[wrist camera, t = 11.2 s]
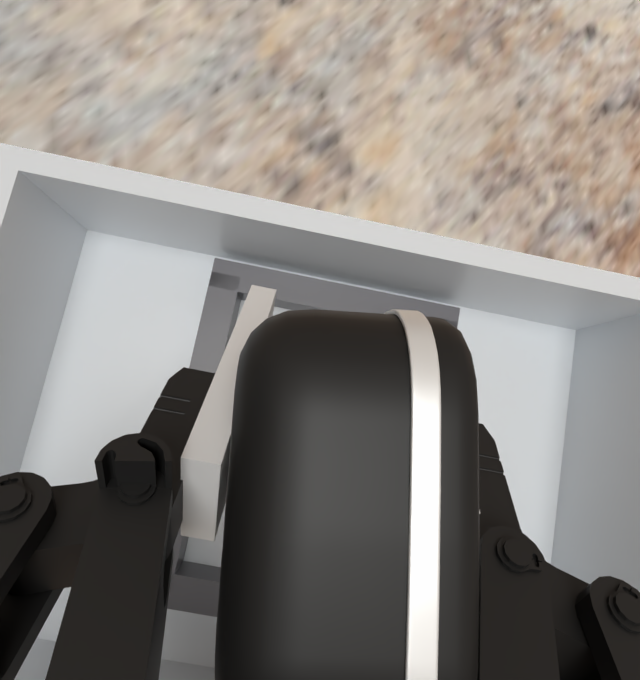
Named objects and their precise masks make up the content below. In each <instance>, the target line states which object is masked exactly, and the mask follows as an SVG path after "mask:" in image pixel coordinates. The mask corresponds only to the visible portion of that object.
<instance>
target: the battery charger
mask: <svg viewBox="0 0 640 680" xmlns="http://www.w3.org/2000/svg"><path fill="white" fill-rule="evenodd" d="M479 552H480V516H479V413H478V396H477V379H476V374H475V369H474V364H473V359H472V354H471V352H470V350H469V348H468V346H467V343H466V341H465V339H464V337H463V335H462V333H461V331H459V330H458V329H457V328H455V327H454V326H453V325H452V324H450V323H449V322H447V321H446V320H444V319H441V318H436V317H426V316H424V314H423V313H421V312H419V311H414V310H399V309H393V310H390V311H387V312H385V313H384V314H380V313H365V312H349V311H334V310H318V309H311V310H289V311H285V312H282V313H280V314H277V315H274V316H272V317H269V318H267V319H265V320H264V321H263V322H262V323H261V324H260V325H259V326H258V327H256V328H255V329H254V330H253V331H252V332H251V333H250V335H249V337H248V339H247V341H246V343H245V345H244V347H243V349H242V351H241V353H240V356H239V362H238V367H237V374H236V382H235V390H234V403H233V416H232V429H231V441H230V456H229V469H228V480H227V493H226V505H225V518H224V531H223V548H222V558H221V571H220V584H219V597H218V610H217V622H216V642H215V680H477V676H478V636H479Z"/></svg>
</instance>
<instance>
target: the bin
mask: <svg viewBox="0 0 640 680" xmlns="http://www.w3.org/2000/svg"><path fill="white" fill-rule="evenodd" d="M252 285H256V286H261V287H266V288H271V289H276V297H275V304H274V311H273V316H274V315H277V314H280V313H282V312H285V311H289V310H311V309H318V310H334V311H349V312H365V313H380V314H384V313H385V312H387V311H390V310H393V309H399V310H414V311H419V312H421V313H423V314H424V316H426V317H436V318H441V319H444V320H446V321H447V322H449V323H450V324H452V325H453V326H454V327H455V328H457V329H458V330H459V331H461V333H462V335H463V337H464V339H465V341H466V343H467V346H468V348H469V350H470V352H471V354H472V359H473V364H474V369H475V374H476V379H477V396H478V413H479V423H481V424H483V425H484V426H485V428H486V429H487V430H488V432H489V433H490V435H491V436H492V437H493V439H494V440H495V443H496V446H497V450H498V453H499V457H500V458H499V461H501V463H502V467H503V470H504V473H503V475H505V477H506V481H507V484H508V487H509V491H510V494H511V498H512V501H513V505H514V508H515V511H516V515H517V518H518V522H519V525H520V528H521V531H522V533H523V534H525V535H526V536H527V537H528V538H529V539H531V540H532V541H533V542H534V543H535V544H536V545H537V547H538V548H539V550H540V551H541V553H542V554H543V556H544V559H545V561H546V562H548V563H550V564H551V565H553V566H555V567H556V568H558V569H560V570H562V571H564V572H566V573H568V574H570V575H572V576H574V577H576V578H578V579H580V580H582V581H584V582H586V583H588V584H591V583H592V582H593V581H594V580H596V579H597V578H598V577H602V576H612V577H615V578H617V579H620V580H623V581H625V582H626V583H628V584H629V585H631V586H632V587H634V588H636V589H637V590H638V591H639V592H640V278H639V277H634V276H629V275H624V274H620V273H615V272H610V271H605V270H601V269H596V268H591V267H586V266H582V265H577V264H572V263H567V262H563V261H558V260H553V259H549V258H544V257H539V256H534V255H530V254H525V253H520V252H515V251H511V250H506V249H501V248H496V247H492V246H487V245H482V244H478V243H473V242H468V241H463V240H459V239H454V238H449V237H444V236H440V235H435V234H430V233H425V232H421V231H416V230H411V229H407V228H402V227H397V226H392V225H388V224H383V223H378V222H373V221H369V220H364V219H359V218H354V217H350V216H345V215H340V214H336V213H331V212H326V211H321V210H317V209H312V208H307V207H302V206H298V205H293V204H288V203H283V202H279V201H274V200H269V199H265V198H260V197H255V196H250V195H246V194H241V193H236V192H231V191H227V190H222V189H217V188H212V187H208V186H203V185H198V184H194V183H189V182H184V181H179V180H175V179H170V178H165V177H160V176H156V175H151V174H146V173H141V172H137V171H132V170H127V169H123V168H118V167H113V166H108V165H104V164H99V163H94V162H89V161H85V160H80V159H75V158H70V157H66V156H61V155H56V154H51V153H47V152H42V151H37V150H33V149H28V148H23V147H18V146H14V145H9V144H4V143H0V476H3V475H7V474H11V473H15V472H32V473H35V474H37V475H40V476H42V477H44V478H45V479H46V481H47V482H48V483H49V484H50V486H59V485H68V484H78V483H85V482H90V481H94V480H97V479H98V478H97V473H96V467H95V462H94V461H95V459H96V457H97V455H98V454H99V452H100V450H101V449H102V448H103V447H104V446H106V445H107V444H108V443H109V442H110V441H112V440H114V439H116V438H119V437H121V436H124V435H127V434H135V433H140V432H141V430H142V428H143V426H144V424H145V422H146V421H147V419H148V417H149V415H150V413H151V411H152V410H153V409H154V405H155V404H156V402H157V400H158V398H159V397H160V394H161V392H162V390H163V389H164V387H165V385H166V383H167V381H168V379H169V378H170V377H172V376H173V375H174V374H176V373H177V372H178V371H179V370H181V369H182V368H183V367H185V368H190V369H196V370H201V371H206V372H211V373H216V371H217V368H218V366H219V363H220V361H221V359H222V356H223V354H224V351H225V349H226V346H227V344H228V342H229V339H230V337H231V334H232V332H233V329H234V327H235V325H236V322H237V320H238V317H239V315H240V312H241V310H242V308H243V305H244V303H245V300H246V298H247V295H248V293H249V291H250V288H251V286H252ZM225 505H226V503H225ZM224 518H225V506H224V510H223V513H222V517H221V520H220V524H219V527H218V531H217V534H216V538H215V541H209V540H204V539H198V538H193V537H187V536H181V526H180V529H179V532H178V534H177V537H176V540H175V543H174V546H173V565H172V573H171V581H170V589H169V598H168V606H167V614H166V623H165V631H164V639H163V647H162V656H161V664H160V672H159V680H215V642H216V622H217V610H218V597H219V584H220V571H221V558H222V548H223V531H224ZM70 590H71V587H68V588H64V589H63V591H62V592H61V594H60V596H59V598H58V600H57V602H56V603H55V605H54V607H53V609H52V611H51V613H50V614H49V616H48V618H47V620H46V622H45V624H44V625H43V627H42V629H41V631H40V633H39V635H38V636H37V638H36V640H35V642H34V644H33V646H32V647H31V649H30V651H29V653H28V655H27V657H26V658H25V660H24V662H23V664H22V666H21V668H20V669H19V671H18V673H17V675H16V677H15V679H14V680H45V679H46V675H47V672H48V668H49V665H50V661H51V658H52V654H53V650H54V647H55V643H56V640H57V636H58V633H59V629H60V626H61V622H62V619H63V615H64V611H65V608H66V604H67V601H68V597H69V594H70Z"/></svg>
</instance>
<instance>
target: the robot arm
mask: <svg viewBox="0 0 640 680" xmlns="http://www.w3.org/2000/svg"><path fill="white" fill-rule="evenodd" d="M275 297H276V289H271V288H266V287H261V286H256V285H252V286H251V288H250V291H249V293H248V295H247V298H246V300H245V303H244V305H243V308H242V310H241V312H240V315H239V317H238V320H237V322H236V325H235V327H234V329H233V332H232V334H231V337H230V339H229V342H228V344H227V346H226V349H225V351H224V354H223V356H222V359H221V361H220V363H219V366H218V368H217V371H216V373H211V372H206V371H201V370H196V369H190V368H185V367H183V368H182V369H181V370H179V371H178V372H177V373H176V374H174V375H173V376H172V377H170V378H169V379H168V381H167V383H166V385H165V387H164V389H163V390H162V392H161V394H160V397H159V398H158V400H157V402H156V404H155V405H154V409H153V410H152V411H151V413H150V415H149V417H148V419H147V421H146V422H145V424H144V426H143V428H142V430H141V432H140V433H135V434H127V435H124V436H121V437H119V438H116V439H114V440H112V441H110V442H109V443H108V444H107V445H106V446H104V447H103V448H102V449H101V450H100V452H99V454H98V455H97V457H96V459H95V461H94V462H95V467H96V473H97V478H98V479H97V480H94V481H90V482H85V483H78V484H68V485H59V486H50V484H49V483H48V482H47V481H46V479H45V478H44V477H42V476H40V475H37V474H35V473H32V472H15V473H11V474H7V475H3V476H0V680H14V679H15V677H16V675H17V673H18V671H19V669H20V668H21V666H22V664H23V662H24V660H25V658H26V657H27V655H28V653H29V651H30V649H31V647H32V646H33V644H34V642H35V640H36V638H37V636H38V635H39V633H40V631H41V629H42V627H43V625H44V624H45V622H46V620H47V618H48V616H49V614H50V613H51V611H52V609H53V607H54V605H55V603H56V602H57V600H58V598H59V596H60V594H61V592H62V591H63V589H64V588H68V587H71V590H70V594H69V597H68V601H67V604H66V608H65V611H64V615H63V619H62V622H61V626H60V629H59V633H58V636H57V640H56V643H55V647H54V650H53V654H52V658H51V661H50V665H49V668H48V672H47V675H46V679H45V680H159V672H160V664H161V656H162V647H163V639H164V631H165V623H166V614H167V606H168V598H169V589H170V581H171V573H172V565H173V546H174V543H175V540H176V537H177V534H178V532H179V529H180V526H181V536H187V537H193V538H198V539H204V540H209V541H215V538H216V534H217V531H218V527H219V524H220V520H221V517H222V513H223V510H224V506H225V503H226V493H227V480H228V469H229V456H230V441H231V429H232V416H233V403H234V390H235V382H236V374H237V367H238V362H239V356H240V353H241V351H242V349H243V347H244V345H245V343H246V341H247V339H248V337H249V335H250V333H251V332H252V331H253V330H254V329H255V328H256V327H258V326H259V325H260V324H261V323H262V322H263V321H264V320H265V319H267V318H269V317H272V316H273V311H274V304H275ZM499 458H500V457H499V453H498V450H497V446H496V443H495V440H494V439H493V437H492V436H491V435H490V433H489V432H488V430H487V429H486V428H485V426H484V425H483V424H481V423H479V516H480V552H479V636H478V676H477V680H640V592H639V591H638V590H637V589H636V588H634V587H632V586H631V585H629V584H628V583H626V582H625V581H623V580H620V579H617V578H615V577H612V576H602V577H598V578H597V579H596V580H594V581H593V582H592V583H591V584H588V583H586V582H584V581H582V580H580V579H578V578H576V577H574V576H572V575H570V574H568V573H566V572H564V571H562V570H560V569H558V568H556V567H555V566H553V565H551V564H550V563H548V562H546V561H545V559H544V556H543V554H542V553H541V551H540V550H539V548H538V547H537V545H536V544H535V543H534V542H533V541H532V540H531V539H529V538H528V537H527V536H526V535H525V534H523V533H522V531H521V528H520V525H519V522H518V518H517V515H516V511H515V508H514V505H513V501H512V498H511V494H510V491H509V487H508V484H507V481H506V477H505V475H503V473H504V470H503V467H502V463H501V461H499Z"/></svg>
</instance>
